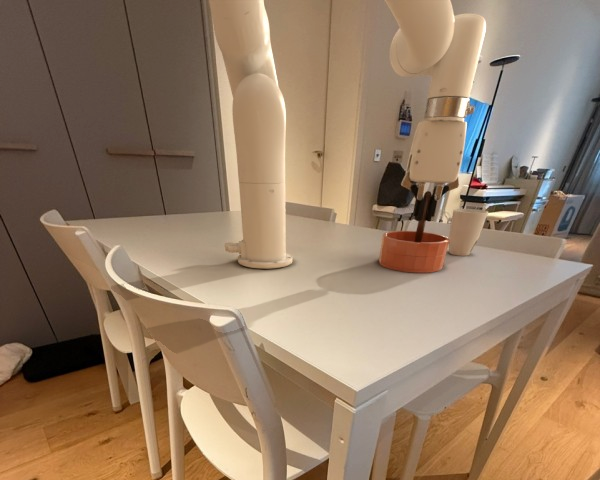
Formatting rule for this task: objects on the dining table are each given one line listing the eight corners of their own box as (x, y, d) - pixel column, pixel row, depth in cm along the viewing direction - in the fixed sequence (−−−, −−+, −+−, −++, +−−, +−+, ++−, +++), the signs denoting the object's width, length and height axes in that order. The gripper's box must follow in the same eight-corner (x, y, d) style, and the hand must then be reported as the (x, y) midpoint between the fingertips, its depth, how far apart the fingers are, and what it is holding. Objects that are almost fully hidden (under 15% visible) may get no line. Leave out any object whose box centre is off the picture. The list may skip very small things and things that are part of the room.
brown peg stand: (407, 256, 77) (420, 191, 70) (402, 251, 81) (414, 189, 74) (427, 257, 77) (443, 192, 70) (422, 252, 81) (436, 190, 74)
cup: (480, 257, 86) (494, 213, 80) (448, 256, 86) (460, 212, 80) (468, 250, 92) (480, 209, 87) (438, 249, 92) (449, 208, 87)
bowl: (384, 271, 73) (389, 242, 70) (374, 256, 85) (378, 230, 81) (450, 273, 73) (459, 243, 69) (431, 257, 85) (438, 231, 81)
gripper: (478, 115, 67) (451, 219, 78) (399, 113, 67) (384, 216, 78) (494, 111, 61) (463, 224, 72) (408, 109, 61) (389, 221, 72)
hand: (422, 219), depth 75 cm, fingers closed on brown peg stand
